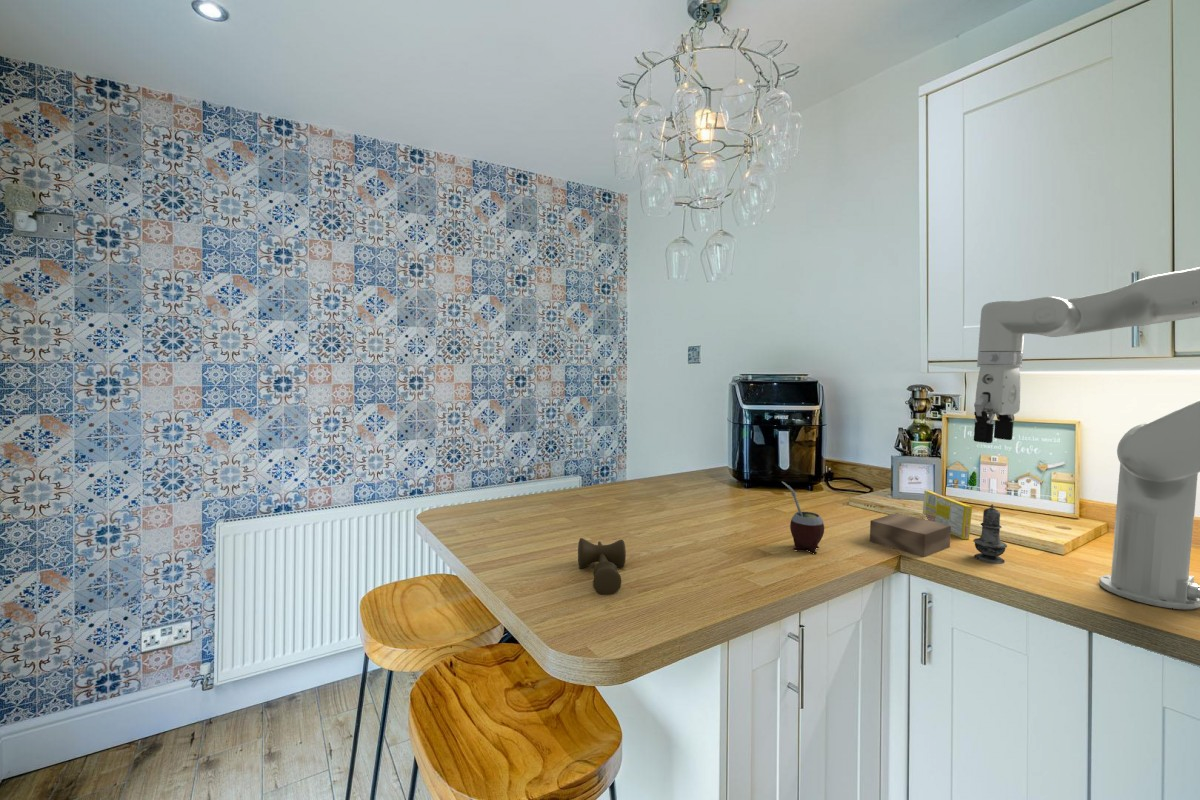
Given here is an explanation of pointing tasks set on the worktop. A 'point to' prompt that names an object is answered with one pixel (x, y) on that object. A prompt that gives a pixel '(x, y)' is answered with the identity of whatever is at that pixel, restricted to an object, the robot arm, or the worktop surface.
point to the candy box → (948, 513)
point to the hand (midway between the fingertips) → (993, 440)
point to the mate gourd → (805, 528)
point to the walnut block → (910, 534)
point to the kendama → (603, 564)
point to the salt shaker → (990, 538)
